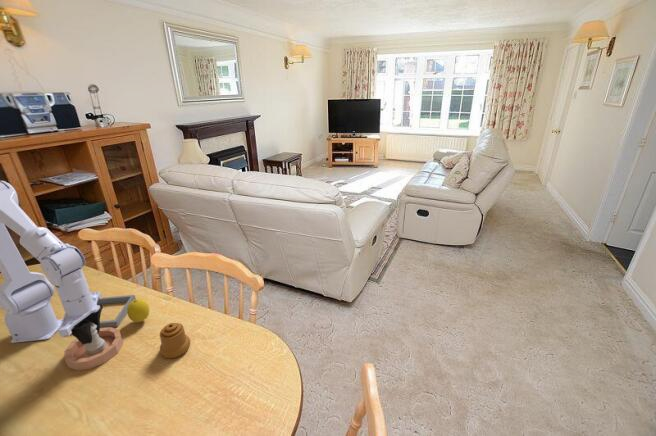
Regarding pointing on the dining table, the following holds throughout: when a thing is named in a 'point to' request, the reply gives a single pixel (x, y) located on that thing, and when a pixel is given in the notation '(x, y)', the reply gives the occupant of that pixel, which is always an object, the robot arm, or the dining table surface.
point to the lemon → (138, 310)
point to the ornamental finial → (173, 340)
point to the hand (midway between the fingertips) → (91, 337)
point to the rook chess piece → (95, 342)
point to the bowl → (82, 360)
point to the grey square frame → (121, 315)
